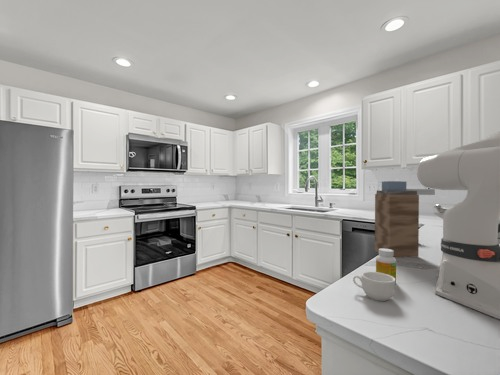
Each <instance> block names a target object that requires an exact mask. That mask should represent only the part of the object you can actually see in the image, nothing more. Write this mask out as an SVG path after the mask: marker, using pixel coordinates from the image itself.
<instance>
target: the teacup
mask: <svg viewBox="0 0 500 375" xmlns="http://www.w3.org/2000/svg"><path fill="white" fill-rule="evenodd" d="M356 278H357V279H359V281H360V283H361V284H359V283H357V282H356ZM352 281H353V283H354V284H355V286H357V287H358V288H361V289H362V290H363V292H364V294H365V295H366V297H369V299H371V300H374V301H378V302H385V301H388V300H390V299H391V298H392V297H394V293H395V287H396V284H395V278H394V277H392V276H390V275H387V274H384V273H379V272H376V271H364V272H362V273H361V276H360V275H354V276H353V279H352Z"/></svg>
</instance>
